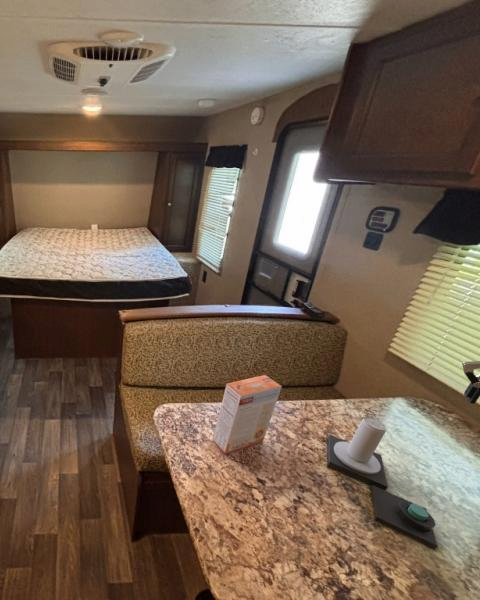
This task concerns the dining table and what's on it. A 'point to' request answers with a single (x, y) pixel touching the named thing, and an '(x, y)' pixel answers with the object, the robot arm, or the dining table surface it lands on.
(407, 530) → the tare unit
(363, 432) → the beverage can
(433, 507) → the dining table surface
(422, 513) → the button
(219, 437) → the cracker box
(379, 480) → the scale
